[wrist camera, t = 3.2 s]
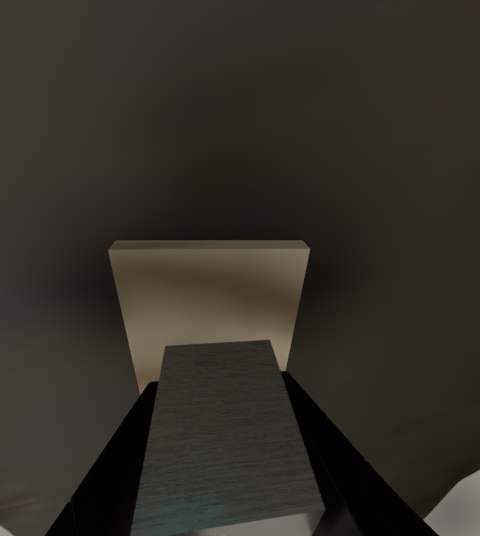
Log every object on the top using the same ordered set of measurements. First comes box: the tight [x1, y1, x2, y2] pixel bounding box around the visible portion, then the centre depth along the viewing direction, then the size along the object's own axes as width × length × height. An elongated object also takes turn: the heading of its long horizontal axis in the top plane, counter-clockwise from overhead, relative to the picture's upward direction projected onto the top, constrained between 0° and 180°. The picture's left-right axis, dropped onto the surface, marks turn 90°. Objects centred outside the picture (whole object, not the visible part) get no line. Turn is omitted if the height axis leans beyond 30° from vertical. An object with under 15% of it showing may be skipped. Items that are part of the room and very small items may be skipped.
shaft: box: [130, 340, 325, 536], centre depth 10 cm, size 14×4×5 cm, turn 177°
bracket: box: [108, 240, 310, 395], centre depth 13 cm, size 20×10×10 cm, turn 177°
